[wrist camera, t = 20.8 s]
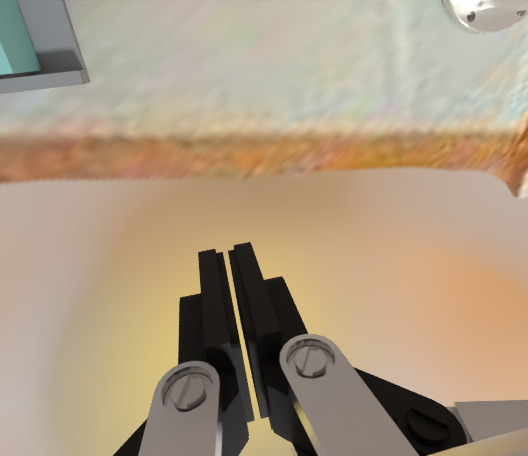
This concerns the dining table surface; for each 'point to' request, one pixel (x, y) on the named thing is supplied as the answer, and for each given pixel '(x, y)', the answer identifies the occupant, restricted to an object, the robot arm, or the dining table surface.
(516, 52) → the dining table surface
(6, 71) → the clamp jaw
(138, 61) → the dining table surface
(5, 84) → the tray
